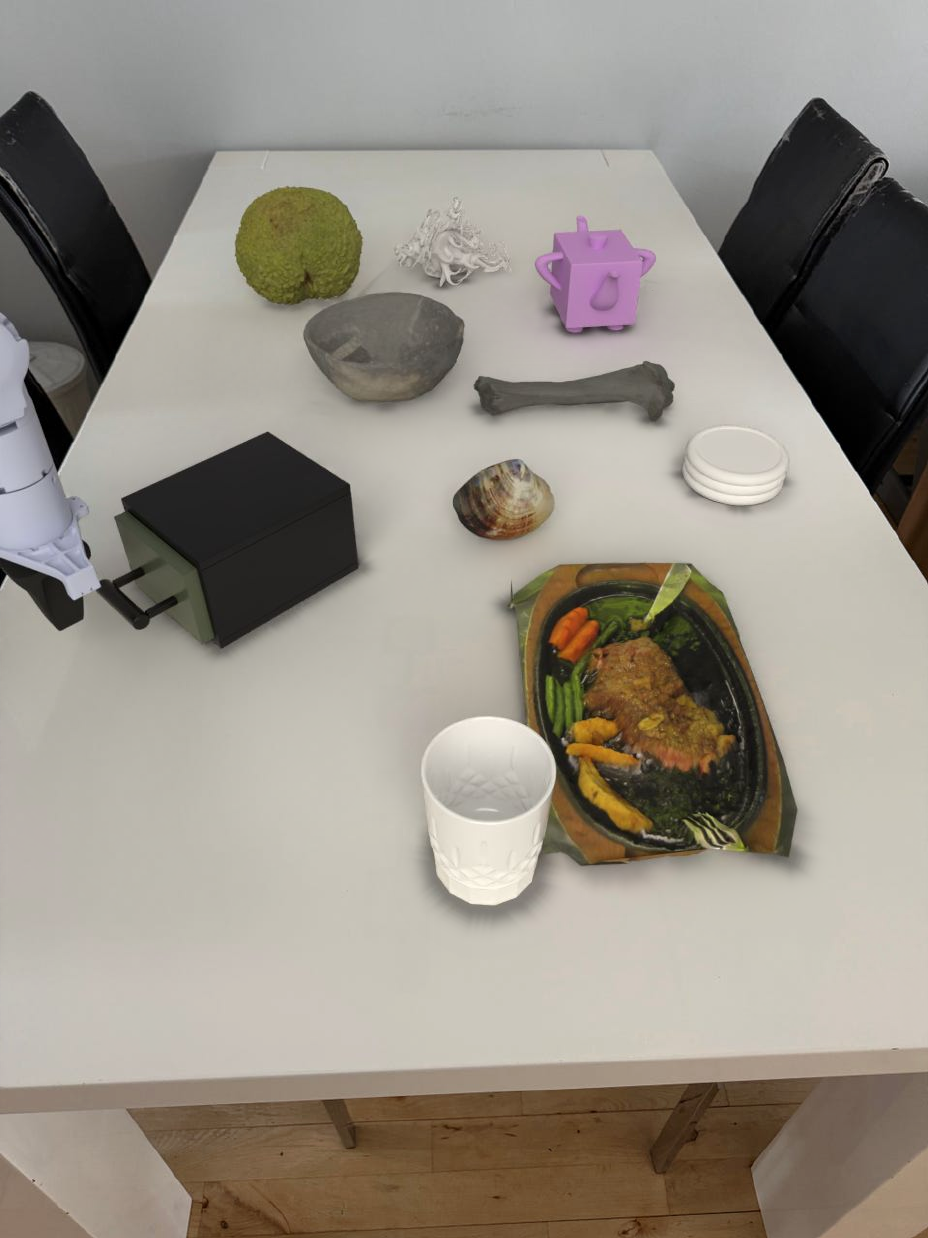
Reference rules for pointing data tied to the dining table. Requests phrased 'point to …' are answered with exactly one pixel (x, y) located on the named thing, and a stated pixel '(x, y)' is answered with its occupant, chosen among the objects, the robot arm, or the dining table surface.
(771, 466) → the white round flat stack
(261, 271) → the fruit
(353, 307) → the bowl
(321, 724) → the dining table surface
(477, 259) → the figurine
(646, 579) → the prepared meal
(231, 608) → the cabinet
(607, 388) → the bone
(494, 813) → the white cup
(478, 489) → the seashell
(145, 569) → the drawer
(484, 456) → the dining table surface
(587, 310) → the teapot
